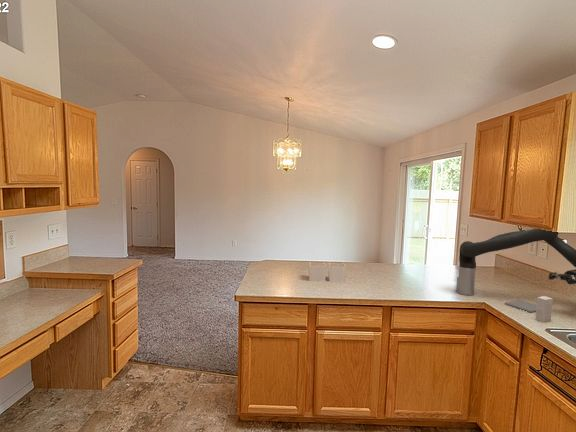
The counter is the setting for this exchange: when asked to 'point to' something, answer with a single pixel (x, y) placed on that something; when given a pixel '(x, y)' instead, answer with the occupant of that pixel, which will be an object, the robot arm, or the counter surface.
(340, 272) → the storage container
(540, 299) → the skincare box
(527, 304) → the slate tile
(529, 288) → the counter surface
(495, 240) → the robot arm
